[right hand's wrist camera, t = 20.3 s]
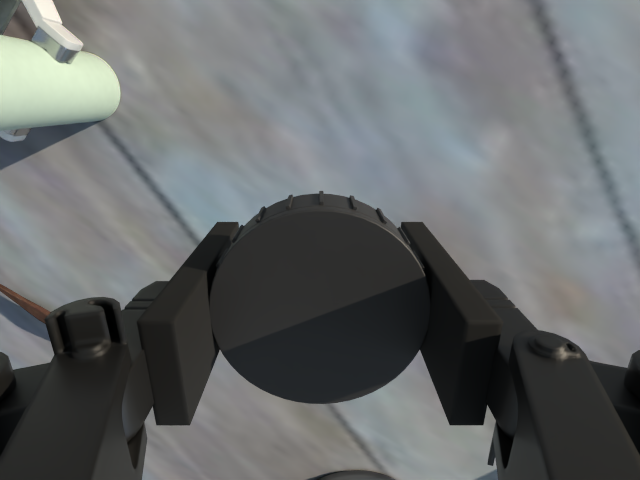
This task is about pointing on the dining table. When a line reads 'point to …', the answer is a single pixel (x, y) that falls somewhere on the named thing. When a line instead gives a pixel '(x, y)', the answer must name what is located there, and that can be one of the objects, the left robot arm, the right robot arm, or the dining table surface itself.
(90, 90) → the jar
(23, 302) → the fork
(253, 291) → the lid
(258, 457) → the dining table surface
